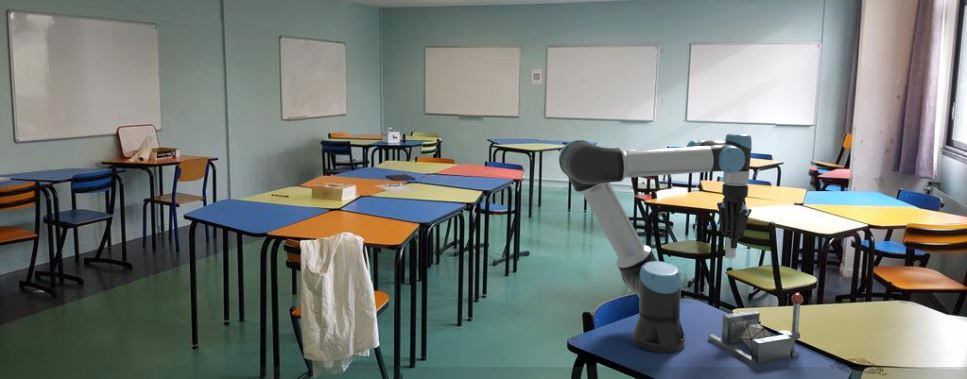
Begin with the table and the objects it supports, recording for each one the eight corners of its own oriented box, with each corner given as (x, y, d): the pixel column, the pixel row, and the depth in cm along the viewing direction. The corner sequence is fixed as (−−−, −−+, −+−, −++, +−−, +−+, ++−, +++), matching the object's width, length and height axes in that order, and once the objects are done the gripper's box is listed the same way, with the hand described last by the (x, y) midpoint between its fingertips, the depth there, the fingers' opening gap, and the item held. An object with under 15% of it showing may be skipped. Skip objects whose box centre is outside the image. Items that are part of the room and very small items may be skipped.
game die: (761, 364, 198) (778, 346, 191) (732, 352, 199) (748, 334, 192) (762, 339, 205) (779, 321, 197) (735, 328, 205) (750, 309, 198)
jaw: (721, 342, 205) (722, 314, 203) (752, 337, 208) (753, 310, 206) (727, 345, 202) (729, 318, 200) (759, 340, 205) (760, 313, 204)
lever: (786, 338, 200) (789, 292, 198) (795, 336, 201) (798, 291, 199) (794, 341, 197) (797, 296, 195) (802, 340, 198) (805, 294, 196)
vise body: (708, 339, 207) (709, 320, 206) (756, 331, 212) (757, 313, 211) (750, 364, 189) (752, 344, 188) (802, 355, 195) (803, 335, 194)
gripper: (760, 186, 209) (754, 261, 213) (730, 180, 221) (725, 251, 225) (740, 187, 206) (735, 263, 210) (711, 181, 218) (706, 253, 222)
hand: (730, 257), depth 217 cm, fingers closed
